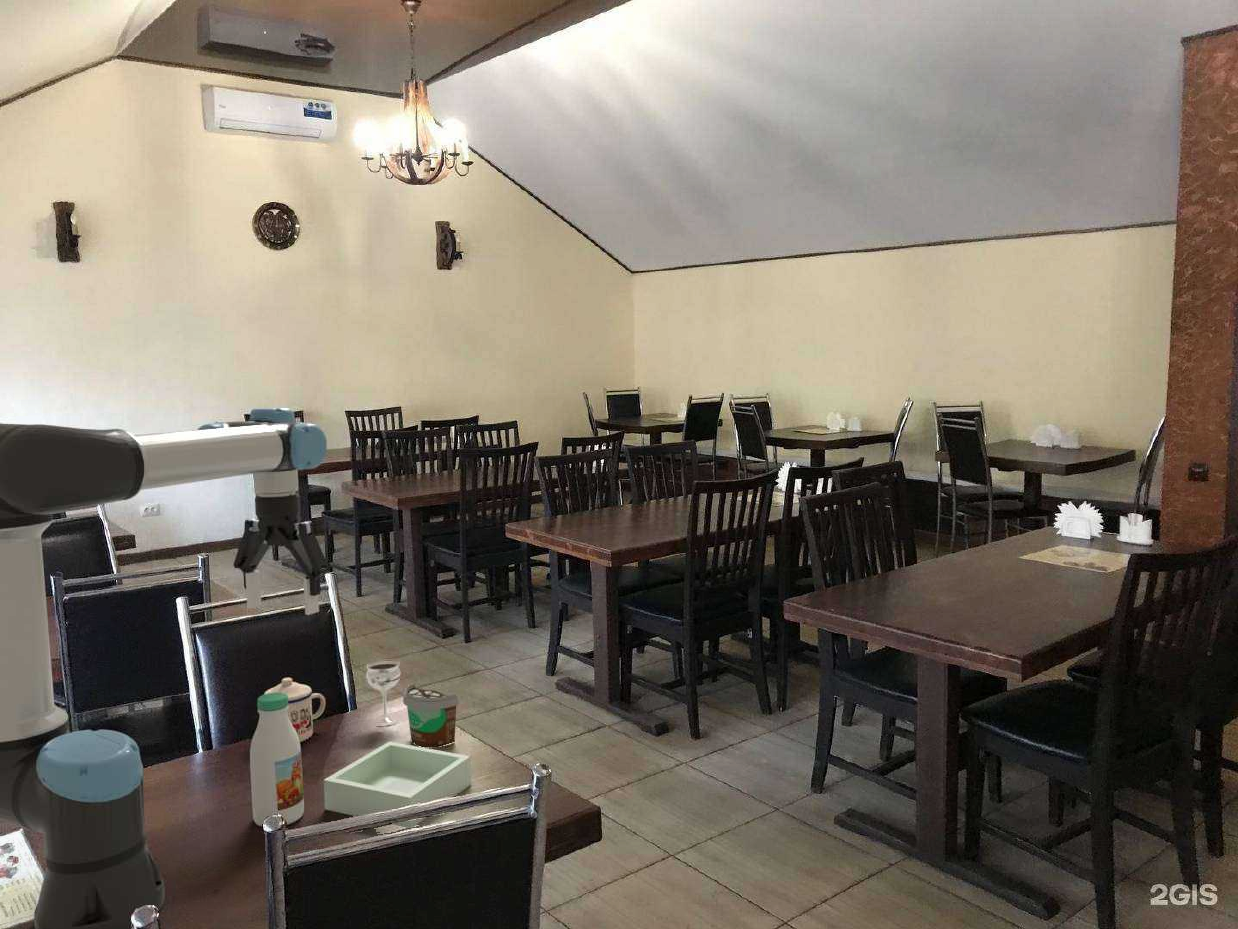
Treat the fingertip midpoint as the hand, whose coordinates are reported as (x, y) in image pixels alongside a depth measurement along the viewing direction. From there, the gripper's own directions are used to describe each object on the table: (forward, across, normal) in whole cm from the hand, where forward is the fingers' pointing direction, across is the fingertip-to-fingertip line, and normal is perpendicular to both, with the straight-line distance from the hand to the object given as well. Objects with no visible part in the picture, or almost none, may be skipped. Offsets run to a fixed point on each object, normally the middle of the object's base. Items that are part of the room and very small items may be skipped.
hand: (282, 610), depth 173 cm
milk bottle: (+28, -15, +19) cm, 37 cm away
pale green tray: (+28, -29, +5) cm, 40 cm away
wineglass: (+28, -5, -21) cm, 35 cm away
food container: (+28, -19, -15) cm, 37 cm away
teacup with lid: (+28, +7, -9) cm, 30 cm away
